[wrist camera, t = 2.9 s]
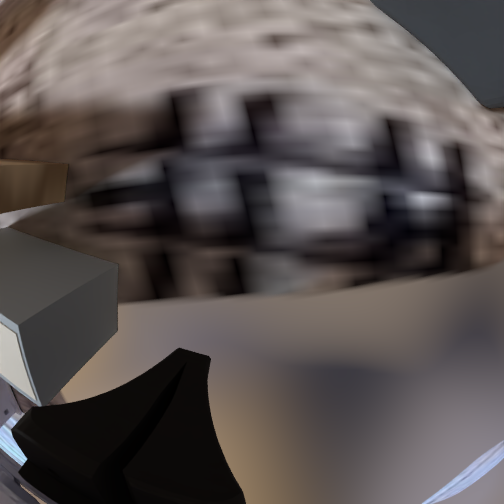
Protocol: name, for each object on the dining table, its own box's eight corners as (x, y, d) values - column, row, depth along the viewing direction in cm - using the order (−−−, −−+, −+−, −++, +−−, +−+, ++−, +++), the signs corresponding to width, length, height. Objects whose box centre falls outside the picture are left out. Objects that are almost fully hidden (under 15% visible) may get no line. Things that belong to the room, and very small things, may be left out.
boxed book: (118, 330, 14) (42, 409, 7) (11, 281, 14) (-58, 317, 7) (119, 263, 13) (17, 326, 6) (8, 226, 13) (-71, 251, 6)
